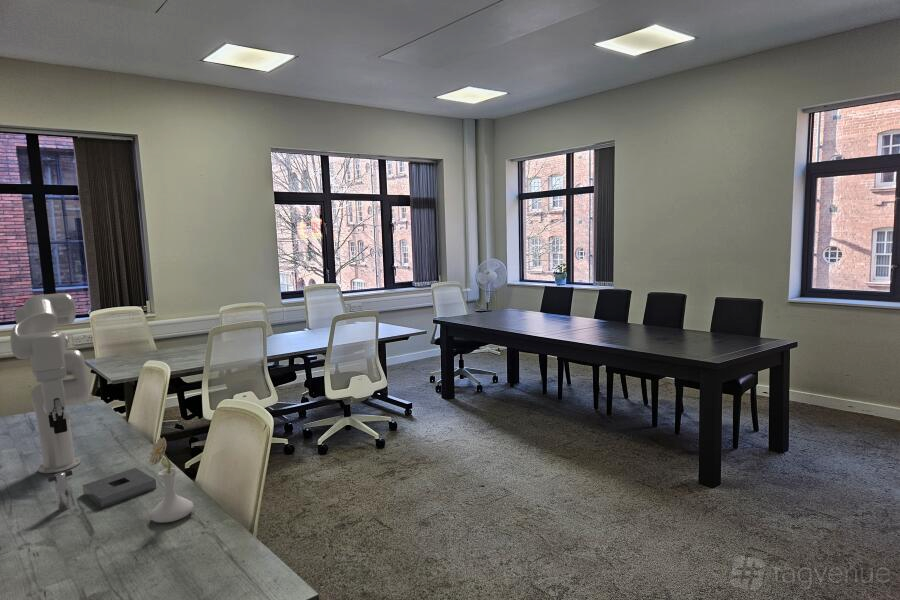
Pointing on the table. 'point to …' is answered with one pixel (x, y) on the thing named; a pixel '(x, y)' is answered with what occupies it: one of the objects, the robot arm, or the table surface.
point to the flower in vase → (168, 489)
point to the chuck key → (61, 489)
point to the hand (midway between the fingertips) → (58, 429)
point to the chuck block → (119, 487)
